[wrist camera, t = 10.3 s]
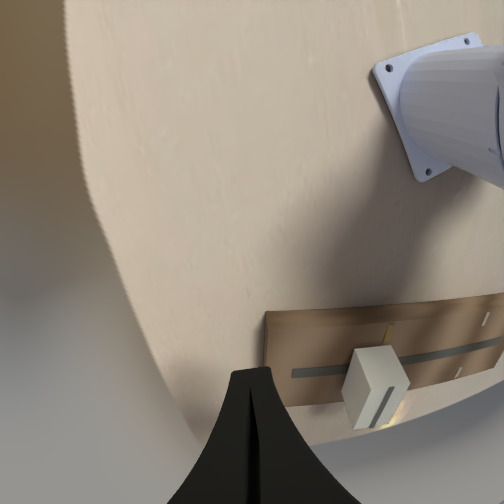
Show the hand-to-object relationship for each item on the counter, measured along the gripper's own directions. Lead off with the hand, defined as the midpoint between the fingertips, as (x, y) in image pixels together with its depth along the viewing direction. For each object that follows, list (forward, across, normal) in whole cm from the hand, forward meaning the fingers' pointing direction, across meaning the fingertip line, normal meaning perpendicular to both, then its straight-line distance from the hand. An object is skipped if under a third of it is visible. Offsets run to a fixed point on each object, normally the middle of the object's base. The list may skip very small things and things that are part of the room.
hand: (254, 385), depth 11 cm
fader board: (+10, -12, +12) cm, 20 cm away
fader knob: (+8, -7, +10) cm, 15 cm away
